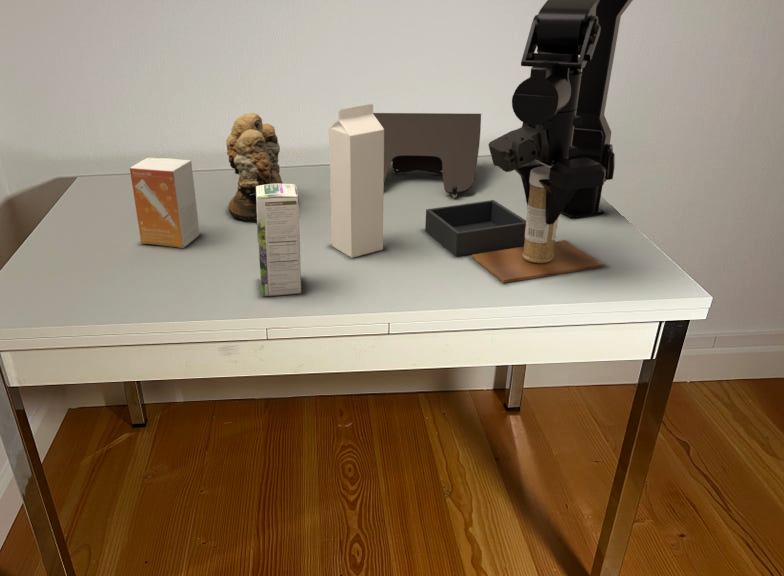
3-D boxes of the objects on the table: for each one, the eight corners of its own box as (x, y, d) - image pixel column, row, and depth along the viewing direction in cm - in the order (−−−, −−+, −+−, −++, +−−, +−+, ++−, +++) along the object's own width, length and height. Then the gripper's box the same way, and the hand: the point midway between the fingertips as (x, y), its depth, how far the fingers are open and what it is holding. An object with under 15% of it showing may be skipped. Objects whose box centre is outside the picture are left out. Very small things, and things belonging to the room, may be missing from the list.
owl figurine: (287, 224, 131) (281, 124, 122) (220, 224, 132) (210, 126, 124) (299, 191, 146) (294, 100, 138) (239, 192, 148) (231, 102, 139)
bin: (491, 221, 128) (493, 199, 126) (527, 245, 118) (529, 222, 117) (425, 231, 126) (425, 209, 124) (455, 256, 116) (457, 233, 114)
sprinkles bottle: (559, 259, 112) (571, 169, 105) (538, 267, 110) (549, 176, 103) (536, 249, 116) (545, 162, 109) (514, 257, 113) (523, 169, 107)
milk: (383, 250, 120) (385, 107, 108) (350, 258, 117) (350, 113, 106) (362, 238, 124) (362, 99, 113) (330, 246, 122) (327, 105, 110)
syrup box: (260, 280, 111) (253, 184, 104) (300, 277, 112) (295, 181, 104) (261, 297, 107) (254, 197, 99) (303, 294, 107) (298, 194, 99)
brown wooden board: (564, 243, 119) (565, 240, 119) (602, 267, 110) (603, 263, 110) (471, 257, 115) (471, 254, 115) (503, 283, 107) (503, 280, 107)
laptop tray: (353, 219, 148) (349, 185, 141) (369, 139, 160) (366, 104, 153) (473, 224, 144) (475, 188, 136) (480, 141, 155) (482, 104, 148)
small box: (140, 244, 126) (127, 167, 119) (159, 231, 131) (148, 156, 124) (183, 249, 124) (173, 170, 117) (201, 235, 129) (192, 159, 122)
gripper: (468, 100, 108) (461, 205, 116) (537, 130, 92) (523, 249, 100) (538, 92, 110) (527, 196, 118) (617, 120, 94) (597, 237, 102)
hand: (541, 218), depth 110 cm, fingers closed on sprinkles bottle, 4 cm apart
